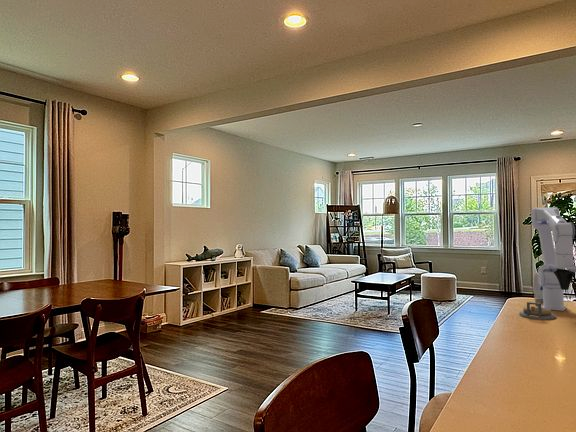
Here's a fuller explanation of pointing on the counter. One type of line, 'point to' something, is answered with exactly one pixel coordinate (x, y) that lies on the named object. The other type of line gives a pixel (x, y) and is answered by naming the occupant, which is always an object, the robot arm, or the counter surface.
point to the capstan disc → (537, 309)
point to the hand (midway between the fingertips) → (564, 289)
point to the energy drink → (537, 288)
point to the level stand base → (540, 316)
